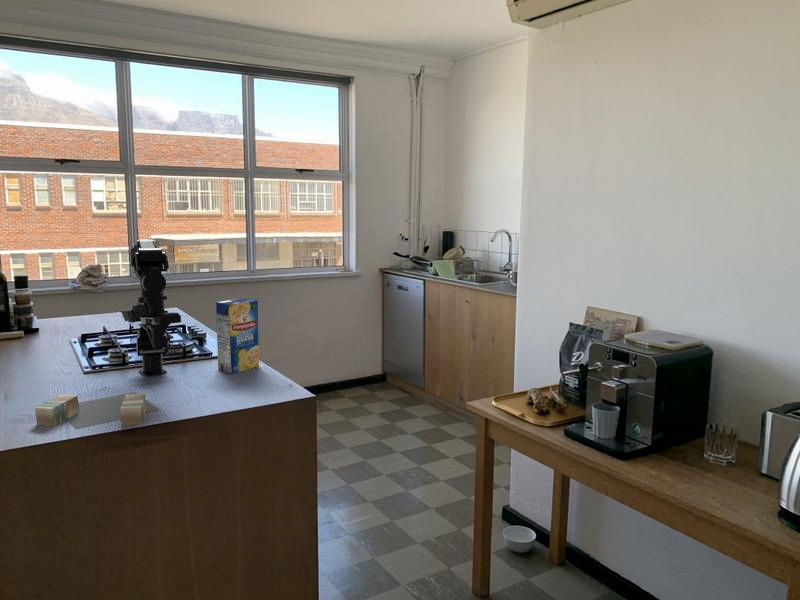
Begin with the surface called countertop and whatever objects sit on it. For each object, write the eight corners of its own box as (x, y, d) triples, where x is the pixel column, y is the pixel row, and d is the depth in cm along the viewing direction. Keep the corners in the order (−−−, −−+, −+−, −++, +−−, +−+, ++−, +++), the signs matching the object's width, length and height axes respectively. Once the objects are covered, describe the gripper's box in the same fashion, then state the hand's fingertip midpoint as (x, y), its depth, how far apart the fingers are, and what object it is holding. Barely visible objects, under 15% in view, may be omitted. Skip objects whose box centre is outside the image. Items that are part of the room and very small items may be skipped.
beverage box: (217, 369, 193) (215, 302, 189) (246, 362, 201) (244, 297, 198) (231, 374, 189) (229, 304, 185) (259, 366, 197) (257, 300, 193)
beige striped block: (61, 394, 152) (34, 407, 144) (77, 395, 152) (51, 408, 143) (63, 411, 153) (36, 425, 145) (79, 412, 153) (54, 427, 144)
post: (125, 394, 153) (119, 407, 144) (145, 393, 154) (141, 406, 146) (126, 411, 154) (120, 426, 145) (146, 410, 155) (141, 424, 147)
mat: (55, 408, 156) (54, 407, 156) (134, 392, 169) (134, 391, 169) (76, 430, 142) (75, 429, 142) (160, 411, 156) (160, 410, 156)
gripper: (108, 294, 169) (111, 350, 170) (141, 294, 157) (145, 354, 158) (146, 292, 178) (149, 345, 179) (180, 292, 166) (183, 348, 167)
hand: (155, 348), depth 170 cm, fingers closed
